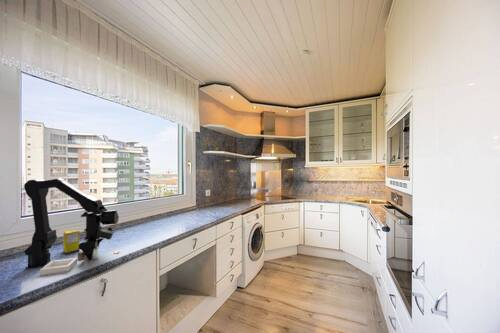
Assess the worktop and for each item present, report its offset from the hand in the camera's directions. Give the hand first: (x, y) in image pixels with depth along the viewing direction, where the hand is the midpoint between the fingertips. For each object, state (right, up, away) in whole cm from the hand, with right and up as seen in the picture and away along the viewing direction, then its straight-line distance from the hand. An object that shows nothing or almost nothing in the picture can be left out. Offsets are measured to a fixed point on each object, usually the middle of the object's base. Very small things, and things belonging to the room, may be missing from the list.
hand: (92, 257), depth 104 cm
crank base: (-1, -2, +7) cm, 7 cm away
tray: (-8, -1, -10) cm, 12 cm away
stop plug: (0, -1, 0) cm, 1 cm away
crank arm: (-4, 0, 0) cm, 4 cm away
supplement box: (-21, -2, +12) cm, 24 cm away
